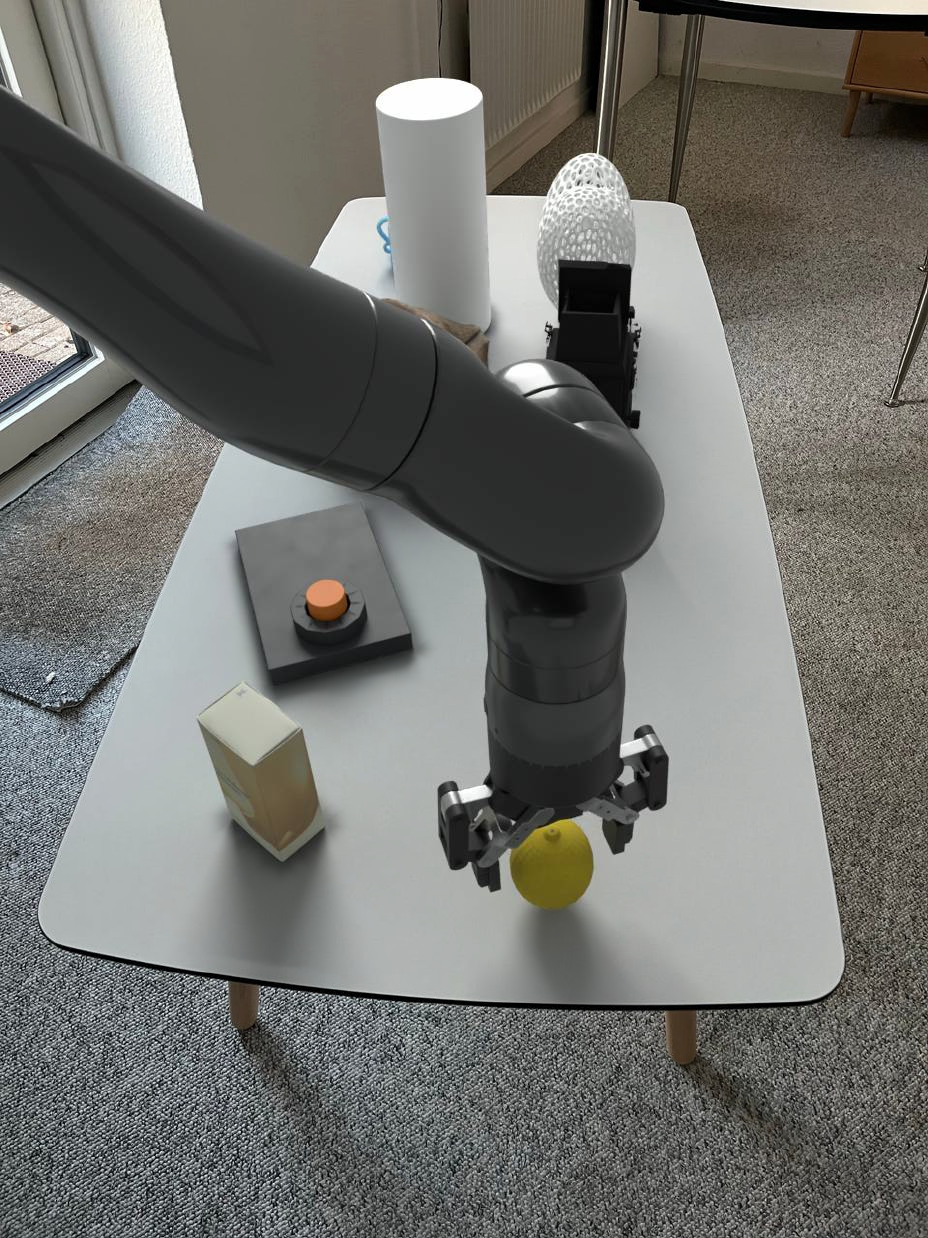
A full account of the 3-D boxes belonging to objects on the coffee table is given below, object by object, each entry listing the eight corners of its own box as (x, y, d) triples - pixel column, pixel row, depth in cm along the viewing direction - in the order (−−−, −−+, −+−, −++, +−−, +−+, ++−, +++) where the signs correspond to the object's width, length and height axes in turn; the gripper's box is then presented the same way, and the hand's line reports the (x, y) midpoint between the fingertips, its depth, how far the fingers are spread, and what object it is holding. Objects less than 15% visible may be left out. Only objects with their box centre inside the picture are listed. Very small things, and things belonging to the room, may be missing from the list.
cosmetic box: (228, 816, 79) (189, 714, 70) (273, 779, 81) (241, 675, 72) (284, 867, 76) (251, 766, 67) (330, 827, 78) (303, 725, 69)
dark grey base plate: (272, 685, 88) (264, 657, 85) (238, 545, 100) (230, 516, 97) (413, 648, 90) (409, 619, 87) (363, 515, 102) (358, 486, 99)
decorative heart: (631, 366, 116) (642, 215, 104) (533, 365, 117) (532, 215, 105) (629, 281, 129) (639, 136, 116) (540, 281, 130) (540, 137, 117)
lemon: (505, 924, 72) (503, 863, 66) (516, 853, 76) (514, 789, 70) (587, 935, 71) (592, 874, 65) (594, 862, 75) (599, 798, 69)
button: (313, 625, 88) (309, 611, 86) (305, 599, 90) (302, 584, 89) (351, 616, 88) (348, 601, 87) (342, 590, 90) (339, 575, 89)
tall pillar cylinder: (384, 337, 123) (357, 113, 105) (422, 291, 129) (402, 72, 111) (470, 353, 120) (457, 125, 101) (504, 305, 126) (498, 82, 108)
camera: (642, 404, 111) (657, 220, 97) (632, 488, 102) (648, 298, 88) (546, 398, 113) (547, 216, 98) (529, 480, 104) (527, 292, 89)
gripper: (449, 797, 55) (466, 944, 67) (704, 723, 57) (676, 877, 69) (411, 690, 60) (433, 844, 72) (646, 626, 62) (630, 786, 74)
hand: (552, 860), depth 70 cm, fingers open, 8 cm apart
